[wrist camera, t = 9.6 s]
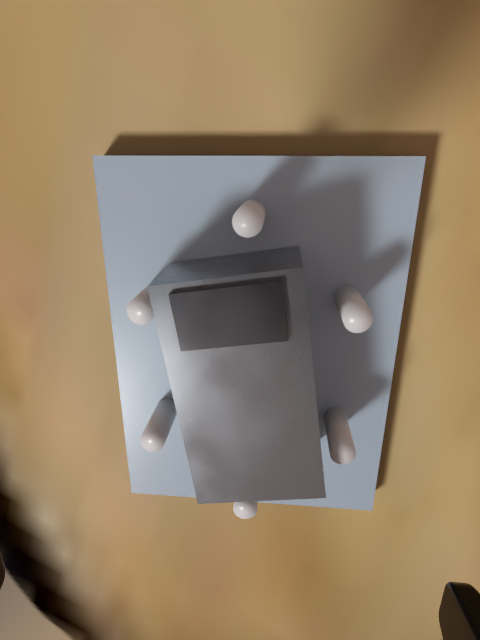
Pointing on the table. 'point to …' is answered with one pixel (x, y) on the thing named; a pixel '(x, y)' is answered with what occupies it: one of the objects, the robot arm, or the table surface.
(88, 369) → the table surface
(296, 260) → the block
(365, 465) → the pin cradle
